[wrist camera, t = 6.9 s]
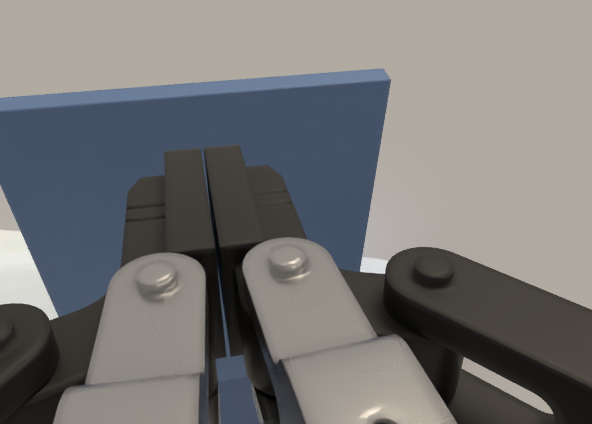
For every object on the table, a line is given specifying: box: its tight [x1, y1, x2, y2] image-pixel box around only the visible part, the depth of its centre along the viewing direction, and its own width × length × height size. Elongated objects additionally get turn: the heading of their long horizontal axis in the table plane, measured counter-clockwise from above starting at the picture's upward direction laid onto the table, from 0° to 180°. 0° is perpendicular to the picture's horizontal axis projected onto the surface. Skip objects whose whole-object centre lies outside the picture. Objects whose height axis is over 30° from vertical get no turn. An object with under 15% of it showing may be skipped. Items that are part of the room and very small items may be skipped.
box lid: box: [0, 69, 391, 382], centre depth 22 cm, size 16×13×1 cm
